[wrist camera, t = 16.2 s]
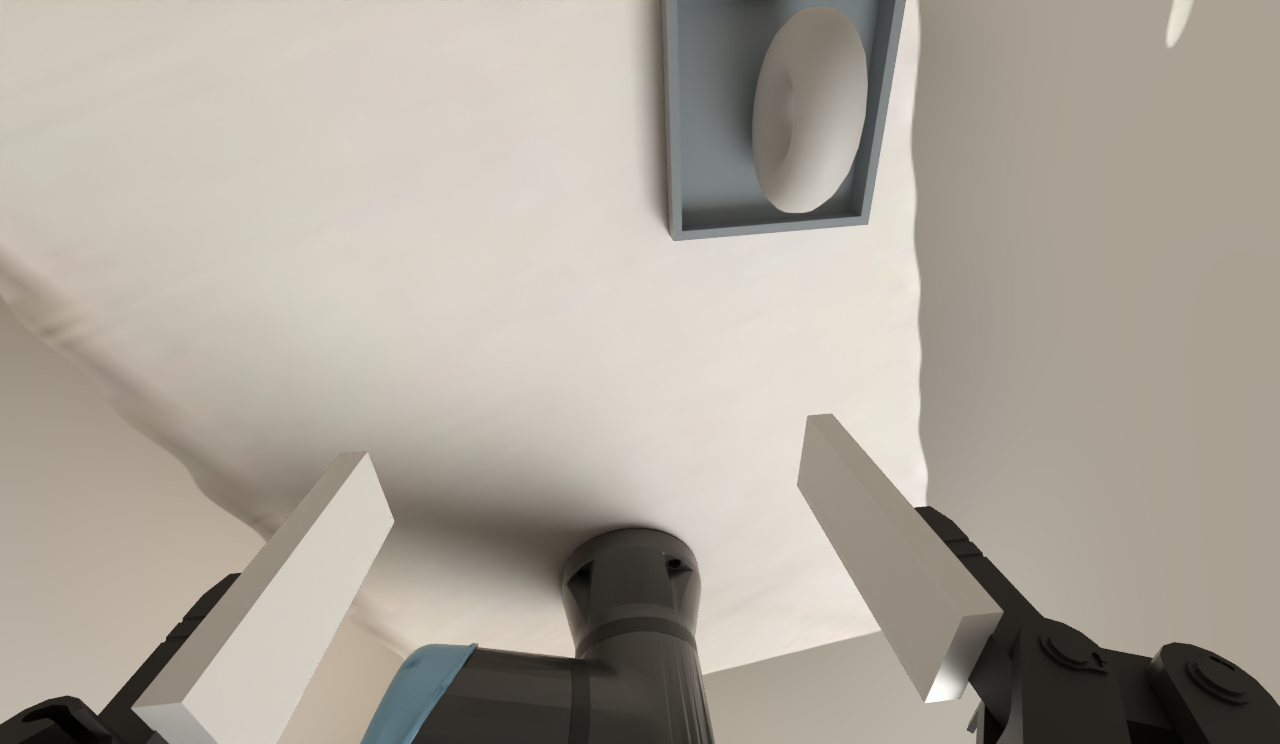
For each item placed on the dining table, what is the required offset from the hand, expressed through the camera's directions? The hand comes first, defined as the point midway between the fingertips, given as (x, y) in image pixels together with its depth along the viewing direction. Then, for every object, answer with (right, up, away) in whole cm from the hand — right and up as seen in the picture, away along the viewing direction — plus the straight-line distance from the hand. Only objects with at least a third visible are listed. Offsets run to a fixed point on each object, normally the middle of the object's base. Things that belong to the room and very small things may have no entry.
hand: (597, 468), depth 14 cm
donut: (+10, +20, +16) cm, 27 cm away
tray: (+10, +20, +16) cm, 27 cm away
